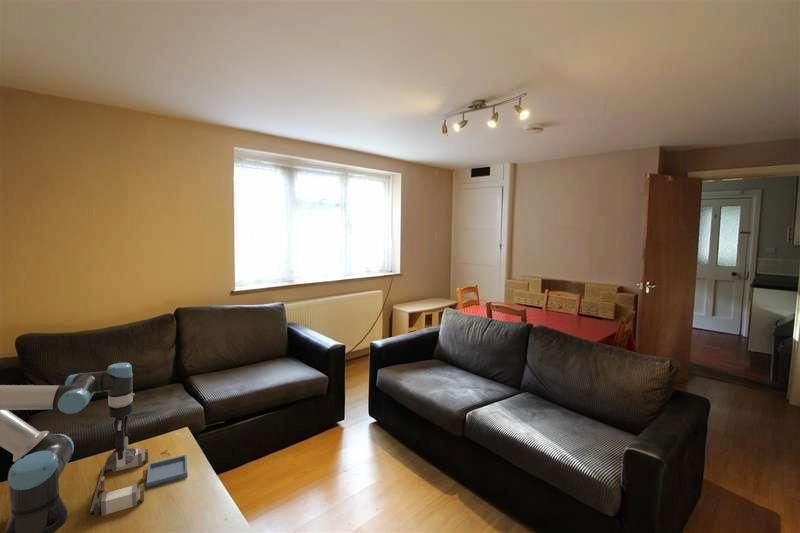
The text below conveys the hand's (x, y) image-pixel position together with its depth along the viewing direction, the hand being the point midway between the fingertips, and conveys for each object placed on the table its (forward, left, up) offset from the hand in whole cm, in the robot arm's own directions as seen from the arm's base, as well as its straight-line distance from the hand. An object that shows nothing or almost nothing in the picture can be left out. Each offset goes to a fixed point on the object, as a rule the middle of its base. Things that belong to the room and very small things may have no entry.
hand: (122, 459), depth 146 cm
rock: (0, -1, -1) cm, 1 cm away
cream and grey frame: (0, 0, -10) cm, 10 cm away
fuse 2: (0, -14, -10) cm, 17 cm away
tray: (+15, 0, -10) cm, 18 cm away
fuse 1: (0, +13, -10) cm, 17 cm away
